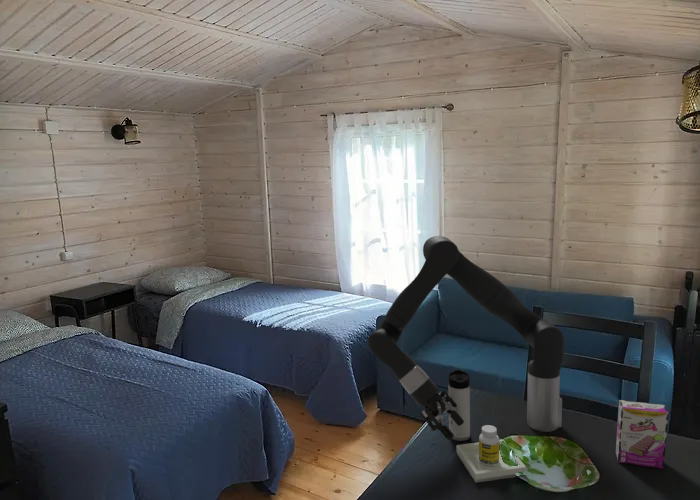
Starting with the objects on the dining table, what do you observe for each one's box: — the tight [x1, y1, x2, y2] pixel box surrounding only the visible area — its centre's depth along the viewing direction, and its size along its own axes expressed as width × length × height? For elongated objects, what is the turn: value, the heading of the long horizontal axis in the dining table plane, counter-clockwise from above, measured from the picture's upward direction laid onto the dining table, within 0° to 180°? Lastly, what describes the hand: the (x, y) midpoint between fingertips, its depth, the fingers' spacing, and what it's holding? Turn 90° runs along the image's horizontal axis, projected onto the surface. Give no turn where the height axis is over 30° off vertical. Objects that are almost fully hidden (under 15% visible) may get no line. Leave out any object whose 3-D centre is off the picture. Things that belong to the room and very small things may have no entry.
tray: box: [456, 438, 527, 484], centre depth 142 cm, size 14×14×2 cm
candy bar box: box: [615, 399, 669, 470], centre depth 139 cm, size 11×5×16 cm, turn 71°
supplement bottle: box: [478, 424, 500, 466], centre depth 142 cm, size 5×5×10 cm
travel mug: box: [448, 369, 471, 442], centre depth 156 cm, size 6×7×20 cm
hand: (456, 430), depth 146 cm, fingers open, 8 cm apart
